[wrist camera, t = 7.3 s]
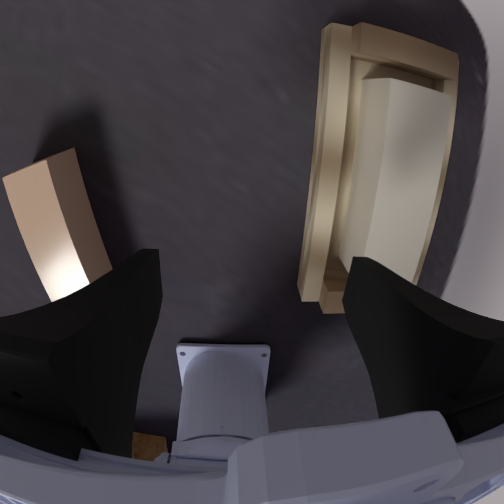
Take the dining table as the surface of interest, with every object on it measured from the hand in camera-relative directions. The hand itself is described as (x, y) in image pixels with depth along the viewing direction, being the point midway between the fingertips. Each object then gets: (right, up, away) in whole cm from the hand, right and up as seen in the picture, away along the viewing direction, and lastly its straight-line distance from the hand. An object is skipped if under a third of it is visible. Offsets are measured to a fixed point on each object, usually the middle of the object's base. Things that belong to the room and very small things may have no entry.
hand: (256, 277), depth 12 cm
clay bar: (+8, +6, +8) cm, 13 cm away
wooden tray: (+8, +6, +8) cm, 13 cm away
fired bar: (-13, +2, +9) cm, 16 cm away
